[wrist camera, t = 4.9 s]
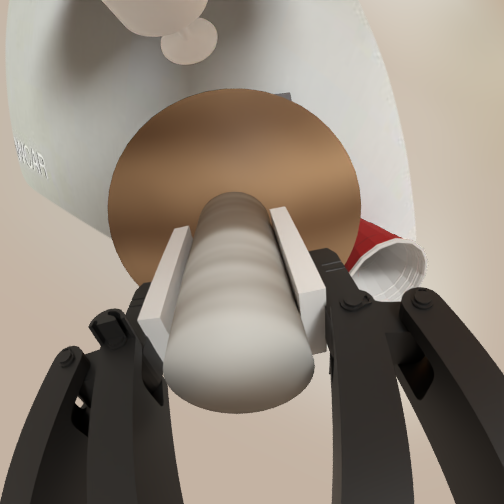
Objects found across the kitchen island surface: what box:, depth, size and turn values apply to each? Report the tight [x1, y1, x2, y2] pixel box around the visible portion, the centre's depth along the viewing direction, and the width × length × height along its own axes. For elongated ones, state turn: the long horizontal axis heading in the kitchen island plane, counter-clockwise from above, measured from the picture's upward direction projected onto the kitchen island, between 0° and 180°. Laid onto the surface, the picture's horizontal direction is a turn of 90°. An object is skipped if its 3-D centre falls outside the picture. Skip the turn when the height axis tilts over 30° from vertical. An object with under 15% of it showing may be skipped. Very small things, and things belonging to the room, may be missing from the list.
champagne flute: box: [101, 0, 218, 65], centre depth 13 cm, size 7×7×24 cm
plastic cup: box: [344, 218, 428, 302], centre depth 32 cm, size 11×11×12 cm
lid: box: [108, 89, 361, 414], centre depth 12 cm, size 15×15×11 cm
